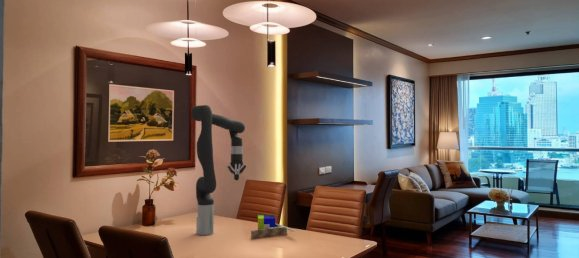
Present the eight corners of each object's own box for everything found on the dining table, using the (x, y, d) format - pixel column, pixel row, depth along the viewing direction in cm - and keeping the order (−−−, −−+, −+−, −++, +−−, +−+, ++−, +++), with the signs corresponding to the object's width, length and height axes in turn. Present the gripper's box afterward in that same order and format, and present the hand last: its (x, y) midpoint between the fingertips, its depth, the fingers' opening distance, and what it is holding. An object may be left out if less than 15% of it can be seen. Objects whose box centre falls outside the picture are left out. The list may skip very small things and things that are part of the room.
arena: (261, 244, 220) (261, 234, 220) (240, 232, 245) (240, 224, 245) (296, 239, 230) (296, 230, 230) (273, 228, 255) (273, 221, 255)
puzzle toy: (275, 235, 239) (275, 218, 239) (257, 235, 238) (258, 218, 238) (274, 231, 249) (274, 215, 249) (257, 231, 248) (257, 215, 248)
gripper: (229, 153, 259) (228, 181, 258) (248, 153, 265) (248, 180, 265) (224, 153, 265) (224, 180, 265) (243, 152, 272) (243, 179, 271)
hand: (236, 180), depth 265 cm, fingers closed
